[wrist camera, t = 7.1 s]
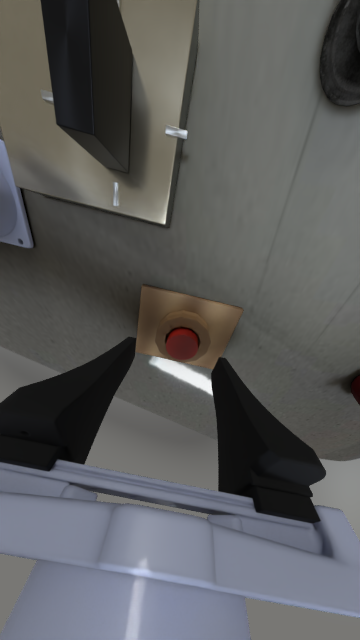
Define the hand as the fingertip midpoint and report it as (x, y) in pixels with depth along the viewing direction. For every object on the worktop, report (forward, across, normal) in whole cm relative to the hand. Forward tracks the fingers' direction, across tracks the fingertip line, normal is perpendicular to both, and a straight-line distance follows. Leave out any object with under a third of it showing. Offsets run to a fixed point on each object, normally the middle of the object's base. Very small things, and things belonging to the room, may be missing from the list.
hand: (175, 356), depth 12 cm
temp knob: (+4, +7, -14) cm, 17 cm away
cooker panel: (+7, +9, -14) cm, 18 cm away
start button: (+5, -1, +2) cm, 5 cm away
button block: (+7, -1, +2) cm, 7 cm away
